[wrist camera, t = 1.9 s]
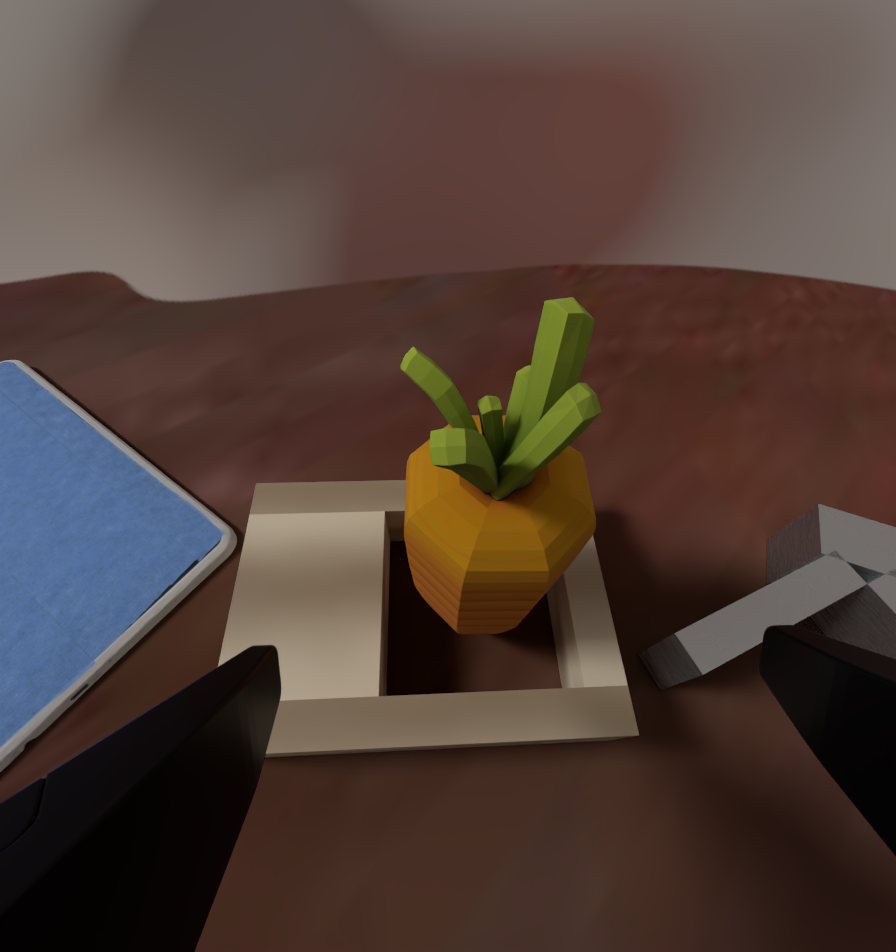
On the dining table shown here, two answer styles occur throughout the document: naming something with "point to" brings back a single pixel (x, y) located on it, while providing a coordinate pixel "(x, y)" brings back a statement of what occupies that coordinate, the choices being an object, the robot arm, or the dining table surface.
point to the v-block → (798, 596)
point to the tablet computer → (82, 552)
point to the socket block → (366, 636)
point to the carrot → (503, 483)
